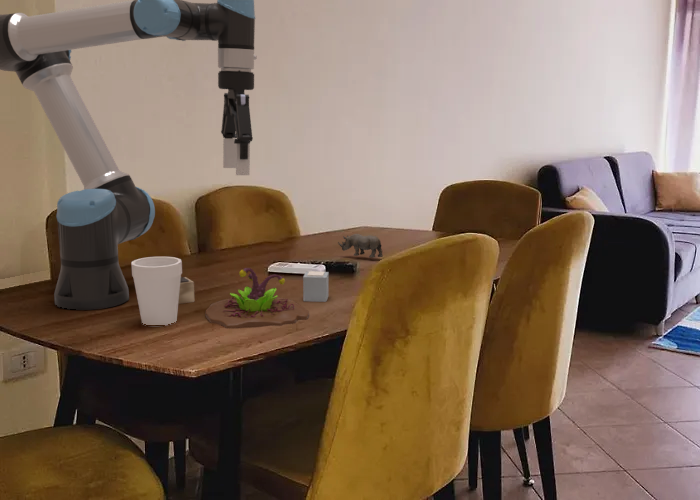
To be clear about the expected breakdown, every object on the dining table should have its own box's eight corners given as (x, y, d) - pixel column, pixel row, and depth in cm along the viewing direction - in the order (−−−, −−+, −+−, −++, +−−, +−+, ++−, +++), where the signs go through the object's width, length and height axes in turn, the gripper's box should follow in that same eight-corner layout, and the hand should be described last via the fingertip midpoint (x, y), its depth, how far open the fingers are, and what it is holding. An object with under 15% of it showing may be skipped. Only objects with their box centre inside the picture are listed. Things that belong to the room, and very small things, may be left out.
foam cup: (162, 316, 155) (159, 254, 152) (194, 325, 150) (191, 260, 147) (124, 328, 147) (120, 262, 145) (156, 337, 142) (153, 269, 140)
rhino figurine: (341, 251, 220) (341, 230, 219) (384, 256, 214) (385, 235, 212) (334, 253, 216) (334, 232, 215) (378, 259, 210) (378, 237, 209)
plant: (193, 313, 159) (192, 261, 156) (281, 303, 167) (280, 253, 165) (223, 341, 141) (222, 283, 139) (319, 328, 150) (319, 272, 148)
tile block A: (172, 307, 162) (171, 283, 161) (164, 302, 166) (163, 278, 165) (194, 304, 165) (193, 280, 163) (186, 299, 169) (185, 275, 168)
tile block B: (303, 303, 165) (303, 275, 164) (306, 297, 170) (306, 270, 169) (326, 304, 165) (326, 276, 164) (328, 298, 170) (328, 270, 169)
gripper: (268, 70, 150) (266, 178, 155) (241, 71, 173) (240, 165, 177) (230, 69, 148) (230, 178, 152) (208, 70, 170) (208, 165, 175)
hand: (235, 171), depth 165 cm, fingers open, 13 cm apart
